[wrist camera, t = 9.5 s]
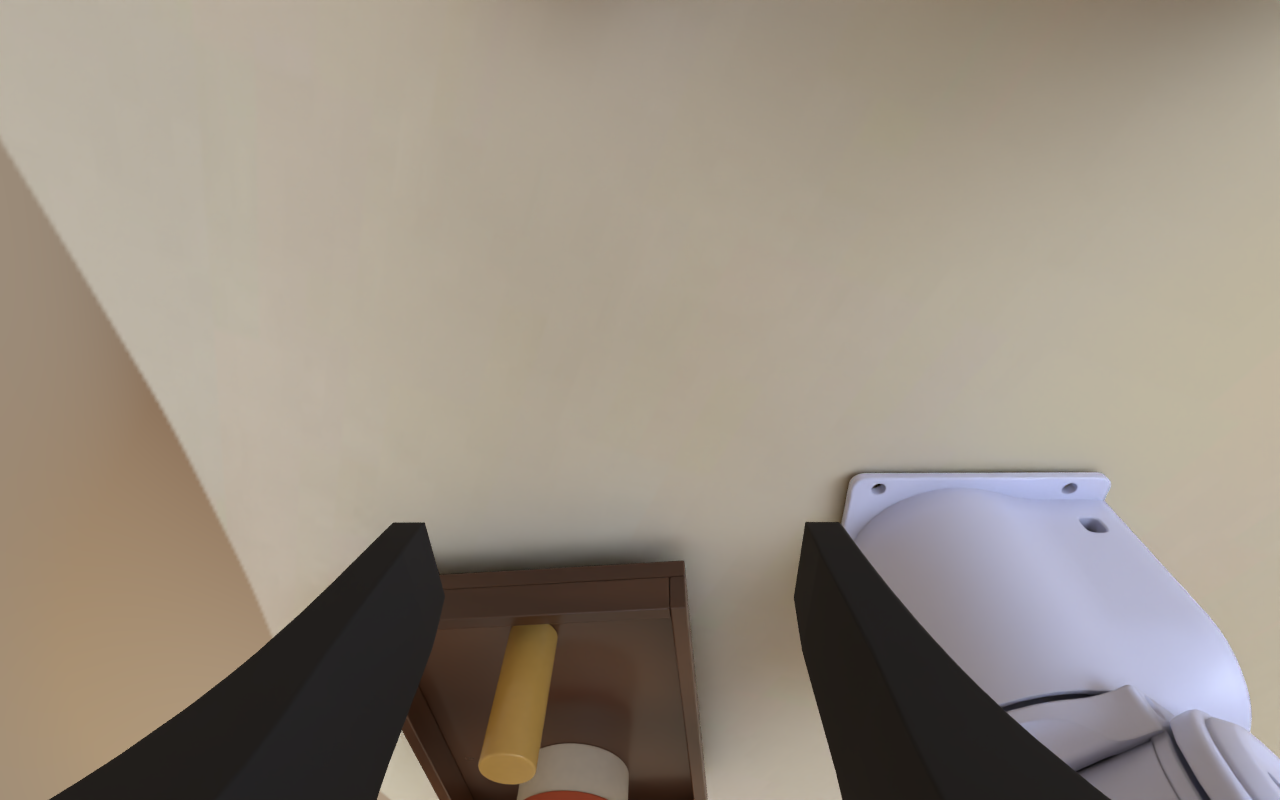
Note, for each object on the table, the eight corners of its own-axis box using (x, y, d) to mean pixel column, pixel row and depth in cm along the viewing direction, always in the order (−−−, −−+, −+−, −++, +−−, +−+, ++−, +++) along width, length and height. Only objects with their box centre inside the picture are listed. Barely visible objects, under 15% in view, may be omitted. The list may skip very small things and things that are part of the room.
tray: (707, 794, 34) (716, 940, 29) (475, 801, 35) (442, 943, 30) (684, 559, 25) (691, 712, 19) (368, 578, 26) (291, 727, 20)
